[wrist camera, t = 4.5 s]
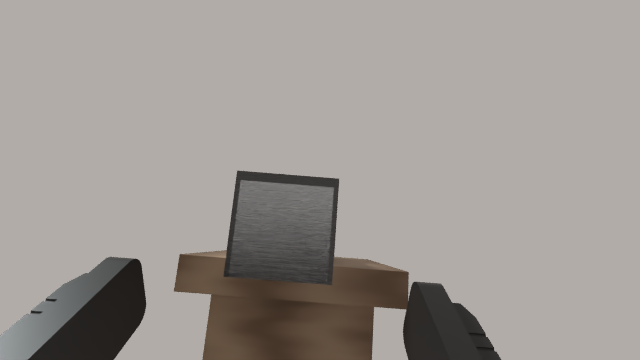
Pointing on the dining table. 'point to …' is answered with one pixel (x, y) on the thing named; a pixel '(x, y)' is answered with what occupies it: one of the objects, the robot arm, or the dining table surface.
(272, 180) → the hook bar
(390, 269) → the wooden block tower
